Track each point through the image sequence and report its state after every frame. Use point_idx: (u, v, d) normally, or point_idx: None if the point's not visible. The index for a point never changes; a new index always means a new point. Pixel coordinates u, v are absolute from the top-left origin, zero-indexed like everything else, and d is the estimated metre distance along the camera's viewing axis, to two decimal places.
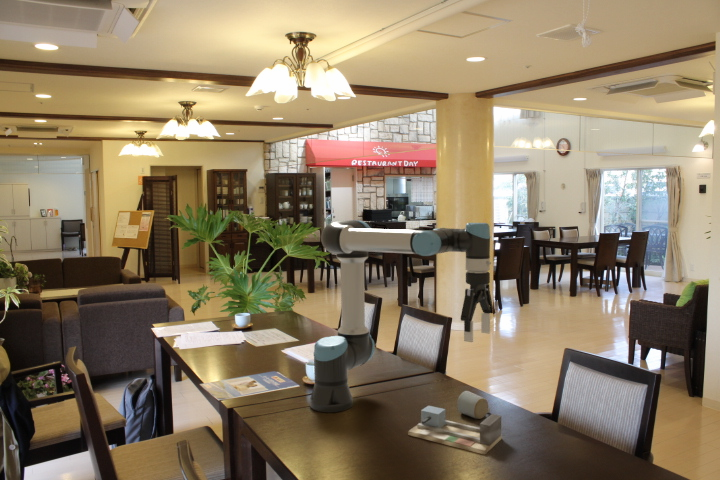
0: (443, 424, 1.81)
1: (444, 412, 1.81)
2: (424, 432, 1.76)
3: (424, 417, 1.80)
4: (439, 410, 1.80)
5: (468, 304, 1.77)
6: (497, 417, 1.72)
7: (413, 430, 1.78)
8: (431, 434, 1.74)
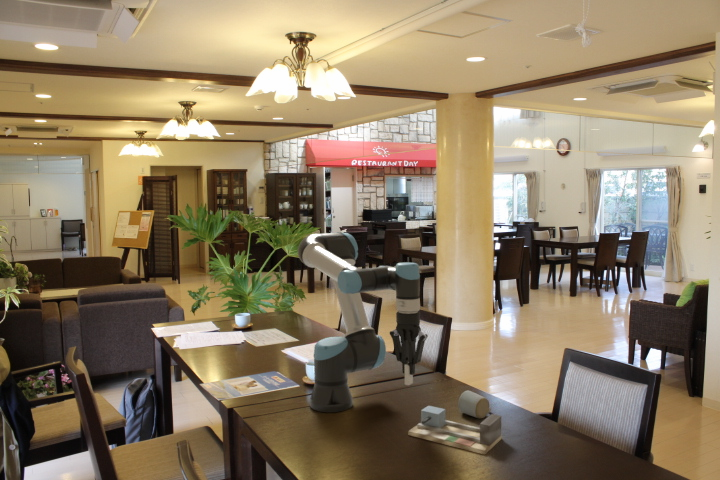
0: (443, 424, 1.81)
1: (444, 412, 1.81)
2: (424, 432, 1.76)
3: (424, 417, 1.80)
4: (439, 410, 1.80)
5: None
6: (497, 417, 1.72)
7: (413, 430, 1.78)
8: (431, 434, 1.74)
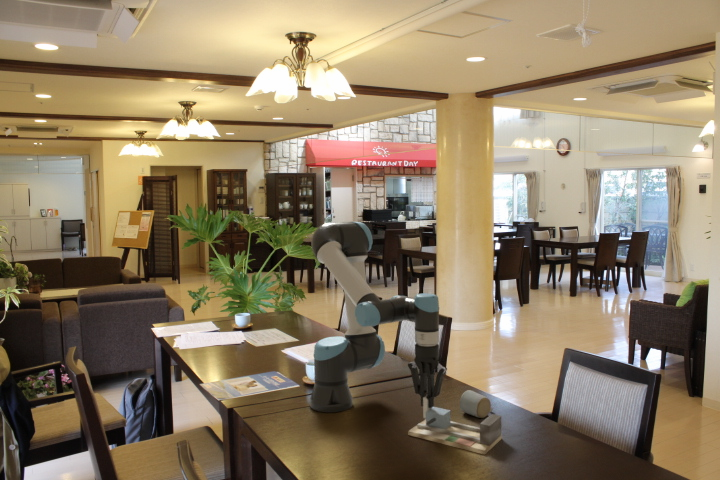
0: (448, 425, 1.80)
1: (449, 413, 1.80)
2: (424, 432, 1.76)
3: (429, 418, 1.79)
4: (444, 411, 1.79)
5: None
6: (497, 417, 1.72)
7: (413, 430, 1.78)
8: (431, 434, 1.74)
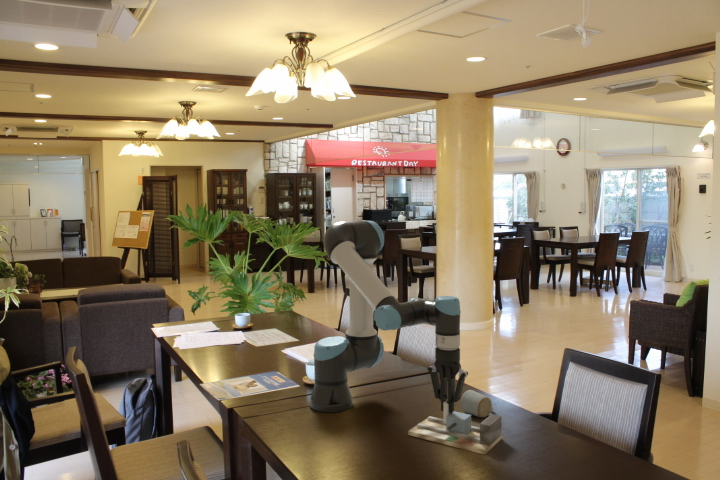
0: (469, 430, 1.76)
1: (470, 418, 1.76)
2: (424, 432, 1.76)
3: (449, 423, 1.75)
4: (465, 416, 1.76)
5: None
6: (497, 417, 1.72)
7: (413, 430, 1.78)
8: (431, 434, 1.74)
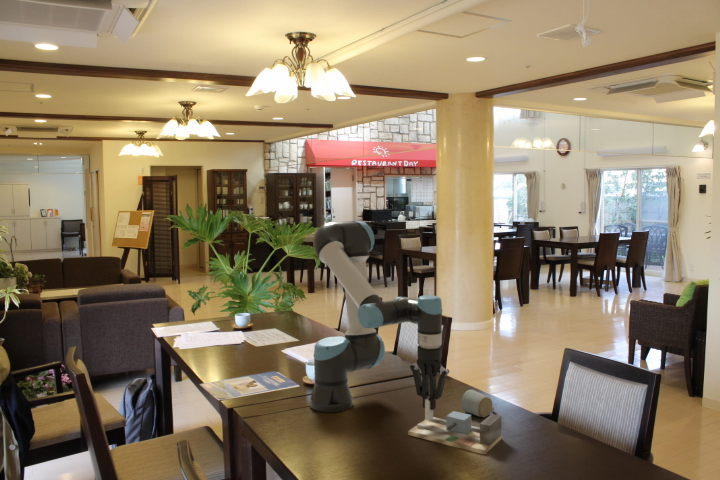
0: (469, 430, 1.76)
1: (470, 418, 1.76)
2: (424, 432, 1.76)
3: (449, 423, 1.75)
4: (465, 416, 1.76)
5: None
6: (497, 417, 1.72)
7: (413, 430, 1.78)
8: (431, 434, 1.74)
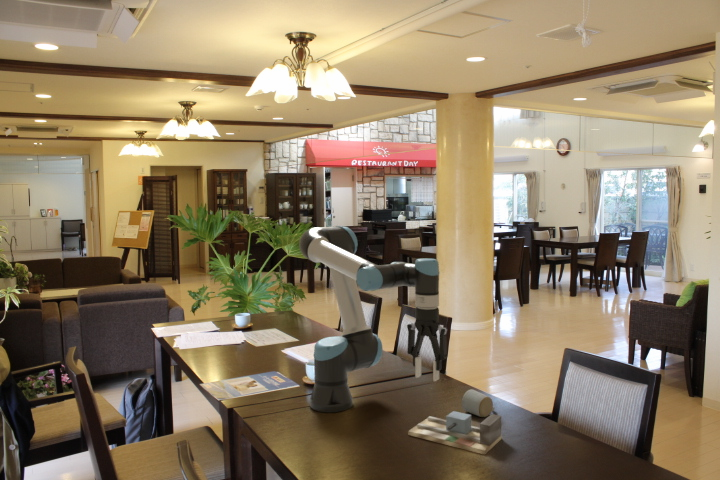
0: (469, 430, 1.76)
1: (470, 418, 1.76)
2: (424, 432, 1.76)
3: (449, 423, 1.75)
4: (465, 416, 1.76)
5: None
6: (497, 417, 1.72)
7: (413, 430, 1.78)
8: (431, 434, 1.74)
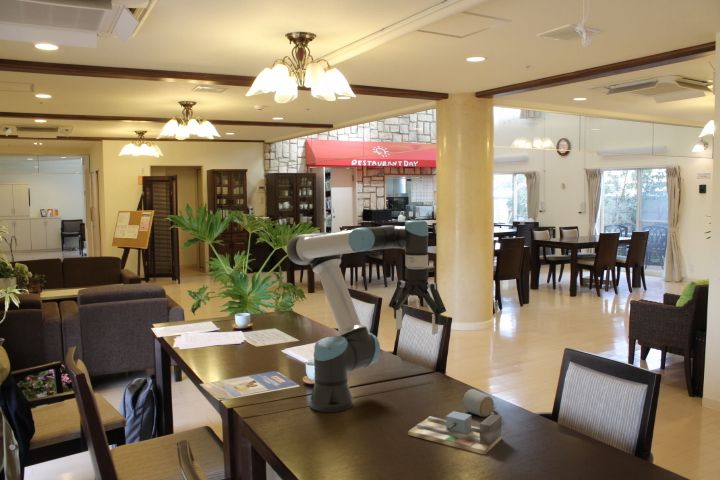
0: (469, 430, 1.76)
1: (470, 418, 1.76)
2: (424, 432, 1.76)
3: (449, 423, 1.75)
4: (465, 416, 1.76)
5: None
6: (497, 417, 1.72)
7: (413, 430, 1.78)
8: (431, 434, 1.74)
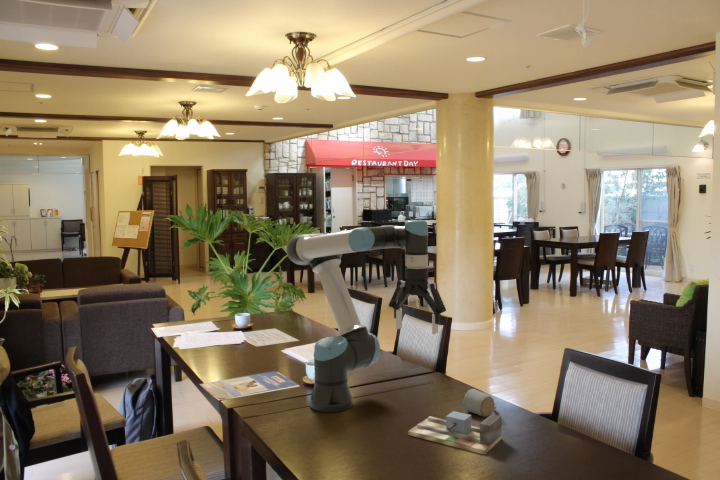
0: (469, 430, 1.76)
1: (470, 418, 1.76)
2: (424, 432, 1.76)
3: (449, 423, 1.75)
4: (465, 416, 1.76)
5: None
6: (497, 417, 1.72)
7: (413, 430, 1.78)
8: (431, 434, 1.74)
